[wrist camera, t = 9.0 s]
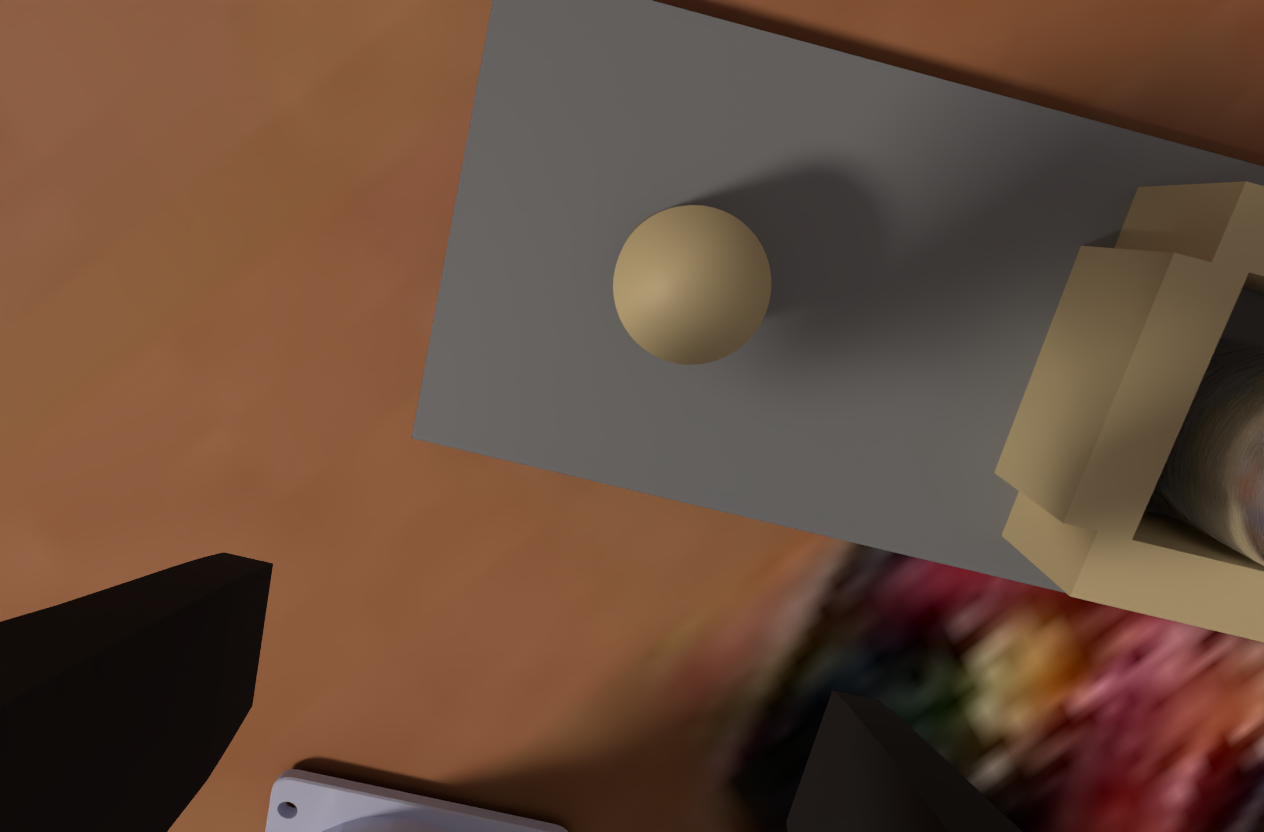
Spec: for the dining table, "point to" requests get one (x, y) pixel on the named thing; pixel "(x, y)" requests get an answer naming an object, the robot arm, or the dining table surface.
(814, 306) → the board
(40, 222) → the dining table surface
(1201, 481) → the cylinder
